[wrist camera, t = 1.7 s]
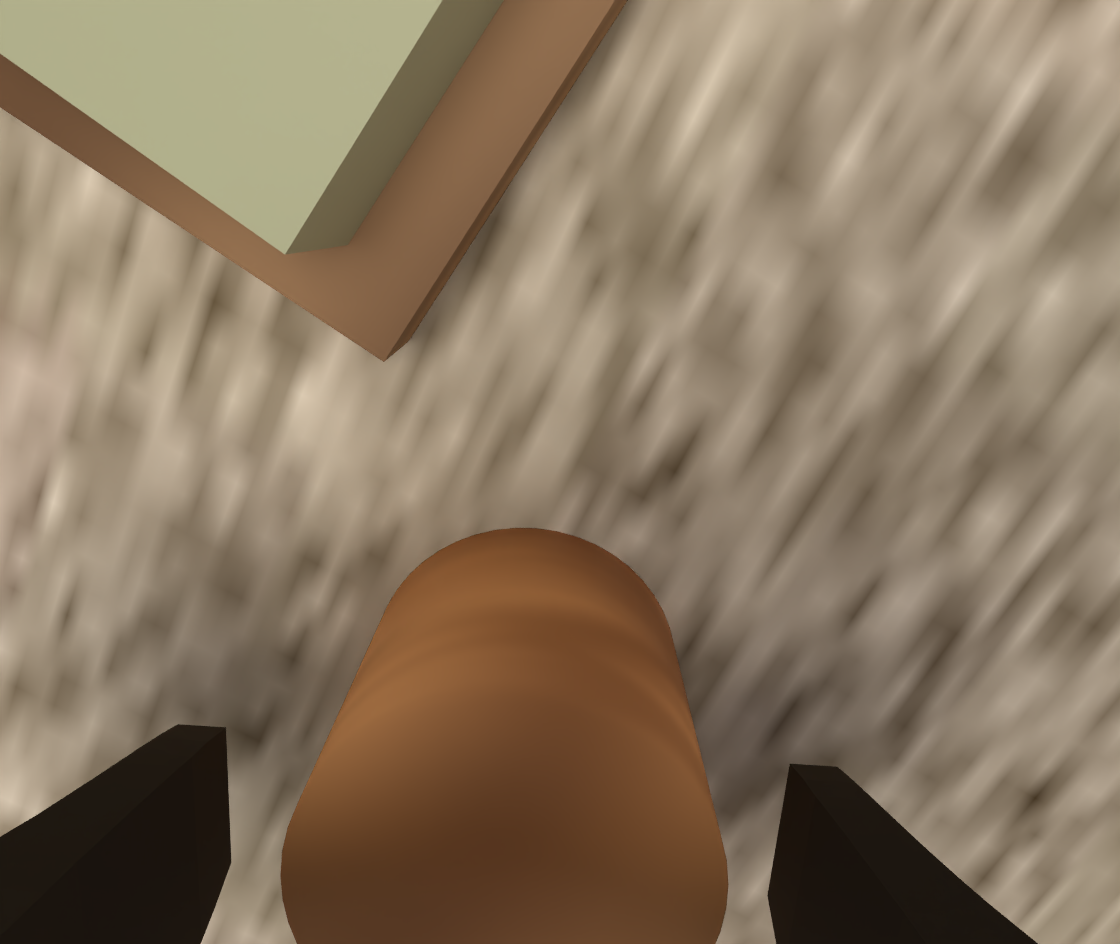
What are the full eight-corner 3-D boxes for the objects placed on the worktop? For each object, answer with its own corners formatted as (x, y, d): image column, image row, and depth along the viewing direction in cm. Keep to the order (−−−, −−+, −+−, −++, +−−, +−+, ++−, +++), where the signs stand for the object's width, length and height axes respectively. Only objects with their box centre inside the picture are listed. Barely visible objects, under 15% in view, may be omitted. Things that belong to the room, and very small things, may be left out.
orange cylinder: (736, 635, 14) (820, 847, 10) (562, 843, 16) (560, 1123, 11) (482, 468, 14) (435, 607, 9) (318, 700, 15) (201, 934, 10)
